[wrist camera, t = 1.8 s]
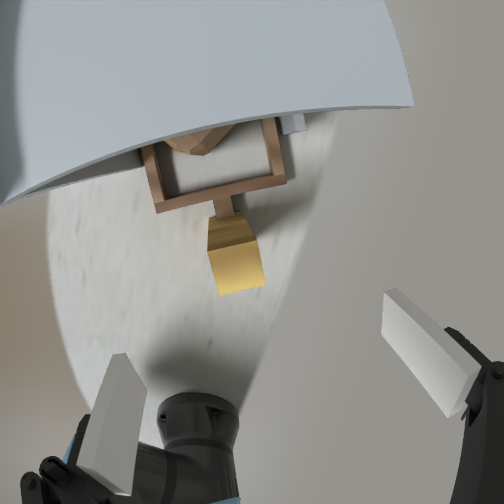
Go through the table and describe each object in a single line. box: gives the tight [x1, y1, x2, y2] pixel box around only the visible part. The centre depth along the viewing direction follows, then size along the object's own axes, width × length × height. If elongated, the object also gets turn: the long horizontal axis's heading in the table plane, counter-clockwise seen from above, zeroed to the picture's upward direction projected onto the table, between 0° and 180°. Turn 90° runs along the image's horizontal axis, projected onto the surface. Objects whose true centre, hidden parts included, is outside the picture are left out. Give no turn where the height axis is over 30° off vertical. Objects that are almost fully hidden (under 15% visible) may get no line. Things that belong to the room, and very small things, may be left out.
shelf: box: [0, 0, 415, 207], centre depth 16 cm, size 12×19×26 cm, turn 102°
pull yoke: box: [141, 117, 287, 296], centre depth 24 cm, size 26×15×12 cm, turn 12°
